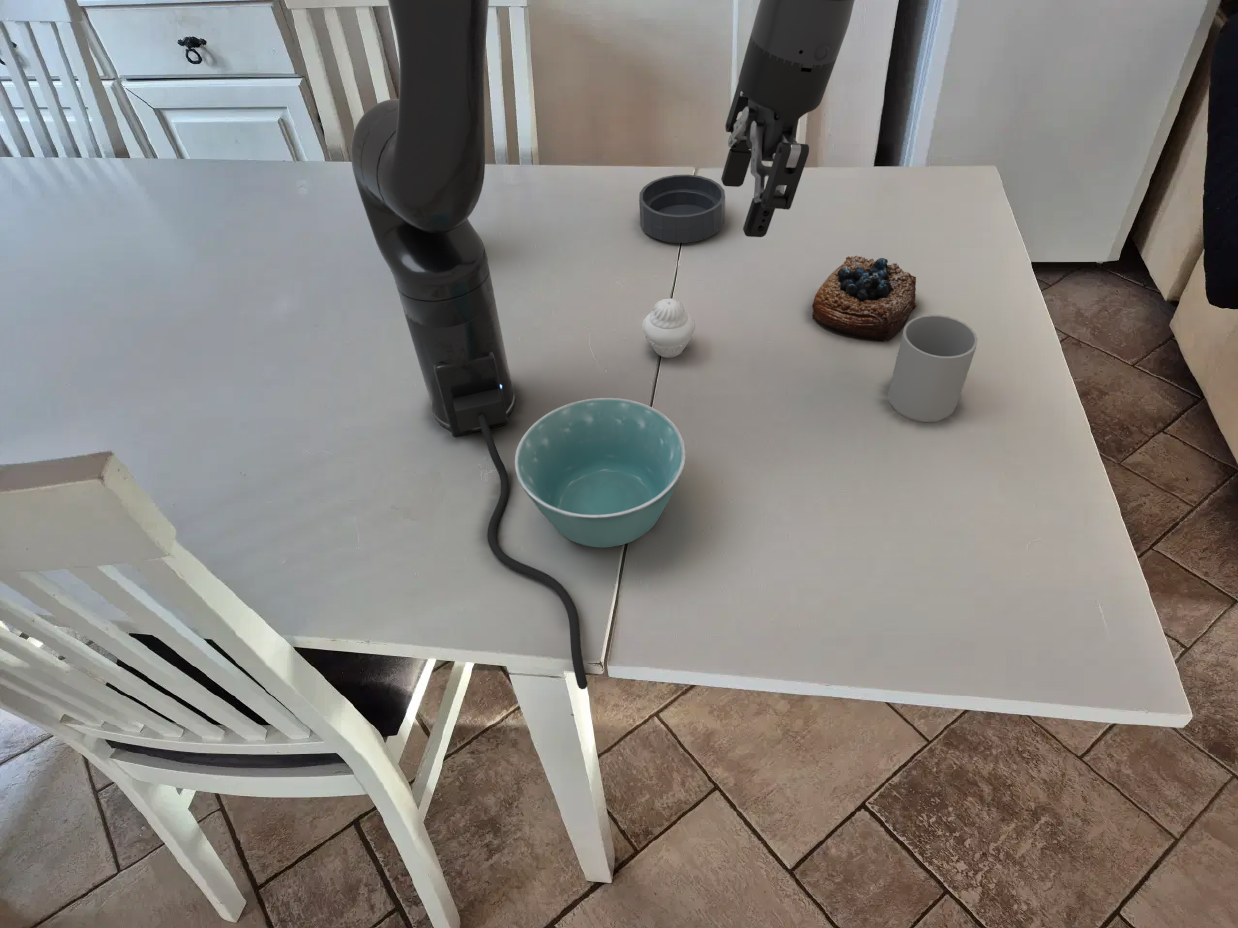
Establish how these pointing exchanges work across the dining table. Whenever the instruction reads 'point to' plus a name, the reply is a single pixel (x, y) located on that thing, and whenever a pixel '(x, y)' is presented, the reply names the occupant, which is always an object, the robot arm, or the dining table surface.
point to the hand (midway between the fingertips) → (741, 209)
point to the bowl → (601, 468)
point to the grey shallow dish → (682, 208)
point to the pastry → (865, 300)
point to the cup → (931, 367)
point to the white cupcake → (668, 328)
